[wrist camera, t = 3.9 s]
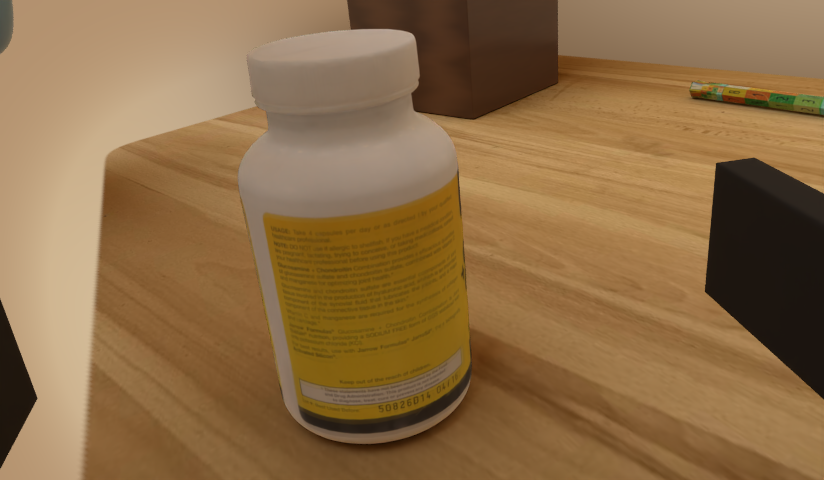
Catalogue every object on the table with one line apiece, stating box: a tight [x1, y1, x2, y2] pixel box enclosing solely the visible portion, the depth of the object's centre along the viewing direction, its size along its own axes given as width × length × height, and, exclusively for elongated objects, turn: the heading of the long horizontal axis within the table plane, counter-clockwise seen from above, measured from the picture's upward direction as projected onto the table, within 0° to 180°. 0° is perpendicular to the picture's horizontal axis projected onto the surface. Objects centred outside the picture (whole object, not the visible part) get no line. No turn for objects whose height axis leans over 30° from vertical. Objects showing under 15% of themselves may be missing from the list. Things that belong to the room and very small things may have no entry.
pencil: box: [689, 80, 824, 115], centre depth 47 cm, size 1×1×18 cm
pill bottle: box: [238, 29, 472, 444], centre depth 22 cm, size 6×6×12 cm
